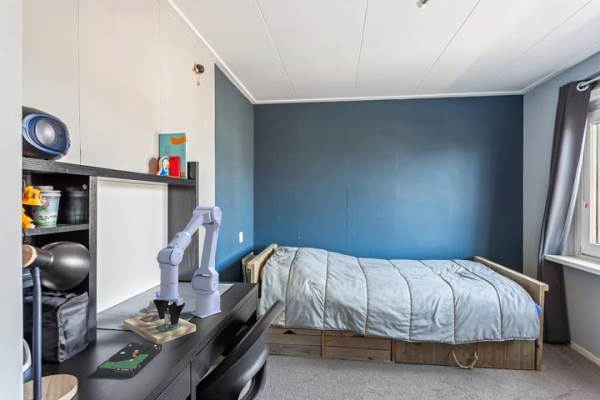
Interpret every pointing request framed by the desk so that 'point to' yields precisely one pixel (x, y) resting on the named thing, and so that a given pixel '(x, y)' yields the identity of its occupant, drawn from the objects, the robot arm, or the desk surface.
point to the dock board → (158, 328)
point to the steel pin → (167, 320)
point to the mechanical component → (152, 307)
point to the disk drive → (129, 360)
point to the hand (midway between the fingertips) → (168, 321)
